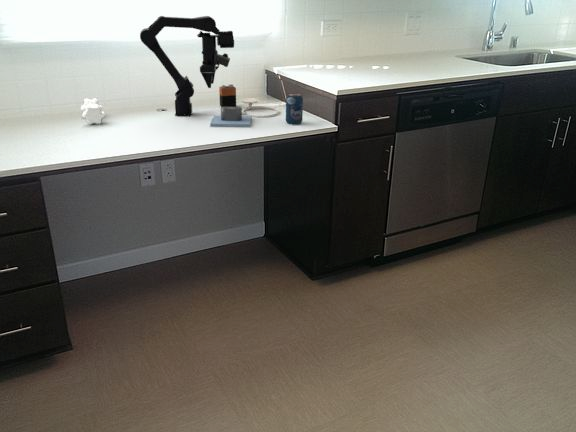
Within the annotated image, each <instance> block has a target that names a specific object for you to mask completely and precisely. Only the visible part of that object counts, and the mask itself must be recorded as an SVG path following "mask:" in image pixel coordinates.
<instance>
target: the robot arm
mask: <svg viewBox="0 0 576 432" xmlns="http://www.w3.org/2000/svg"><path fill="white" fill-rule="evenodd" d="M166 27H167V28H187V29H194V30H198V31H199V33H198V34H197V35H196V36H197V38H201V44H202V47H201V49H202V51H201V55H202V62H201V65H200V66H199V72H200V74H201V75H202V78H203V80H204V82H205V84H206V86H207V88H208V89H211V88H212V85H213V84H214V81H215V77H216V76H215V75H216V72H217V70H219V68H220V66H223V67H225V68H228V66H229V64H230V60H231V58H230V57H229V54H228V53H225V52H224V53H223V54H219V52H218V50H217V46H218V47H219V48H220V49H229V48H230V49H231V48H234V47H235V39H234V34H233V33H234V31H232V30H227V31H225V30H224V31H221V30H220V29H219V28H218V27H217V23H216V21H215V19H214V18H213V17H211V16H210V15H209V16H208V15H205V16H196V17H177V16H164V15H160V16H158V17H157V19H156V20H154V21H153V23H151V24H150V25H149V26H148V27H147V28H143V29H141V31H140V33H139V38H140V41H141V43H142V44H143V45H144V46H145V47H147V48H148V49H149V50H150V51H151V52H152V53H153V54H154V55H155V57H156V58H157V59H158V61H159V62H160V63H161V64H162V66H163V67H164V69H165V70H166V72H168V74H169V76H171V78H172V79H173V81H174V83H175V84H176V88H177V91H176V92H175V93H174V96H175V100H174V107H175V110H174V112H175V114H174V116H175V117H179V116H180V117H185V116H186V117H189V116H191V115H192V114H193V103H192V102H191V98H192V97H193V96H194V93H195V89H194V84H193V82H191V80H190V79H189V77H188V75H186V76H183V75H182V74H181V72H180V71H179V70H178V69H177V67H176V65H174V63H173V62H172V60H171V59H170V57H169V56H168V55H167V54H166V52H165V51H164V49H163V48H162V46H161V44H160V43H159V41H158V39H157V36H158V35H159V34H160V32H162V30H163V29H164V28H166ZM211 33H213V34H211Z"/></svg>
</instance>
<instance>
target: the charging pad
mask: <svg viewBox="0 0 576 432" xmlns="http://www.w3.org/2000/svg"><path fill="white" fill-rule="evenodd" d="M252 118H253V117H252V116H242V120H241V121H222V120H221V115H213V117H212V119H211V122H210V124H209V125H210V127H211V128H212V127H213V128H215V127H218V128H251V124H252V120H253V119H252Z"/></svg>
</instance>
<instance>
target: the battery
mask: <svg viewBox="0 0 576 432" xmlns="http://www.w3.org/2000/svg"><path fill="white" fill-rule="evenodd" d="M218 90H219V107H220V108H221V107H237V88H236V87H235V86H234V84H228V85H225V84H224V85H221V86H219V89H218Z"/></svg>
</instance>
